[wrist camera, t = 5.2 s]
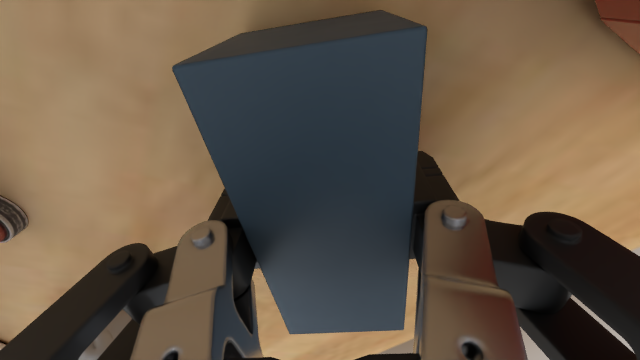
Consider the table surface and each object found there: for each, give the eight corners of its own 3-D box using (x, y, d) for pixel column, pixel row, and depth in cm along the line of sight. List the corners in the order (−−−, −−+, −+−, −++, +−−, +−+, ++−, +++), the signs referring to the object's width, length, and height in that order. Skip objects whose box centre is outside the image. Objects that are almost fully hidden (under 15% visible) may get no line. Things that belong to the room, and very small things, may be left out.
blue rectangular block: (239, 33, 8) (168, 66, 5) (383, 9, 8) (429, 25, 4) (299, 246, 14) (289, 335, 10) (384, 240, 13) (404, 330, 10)
